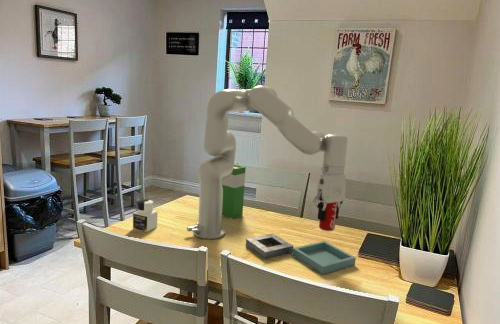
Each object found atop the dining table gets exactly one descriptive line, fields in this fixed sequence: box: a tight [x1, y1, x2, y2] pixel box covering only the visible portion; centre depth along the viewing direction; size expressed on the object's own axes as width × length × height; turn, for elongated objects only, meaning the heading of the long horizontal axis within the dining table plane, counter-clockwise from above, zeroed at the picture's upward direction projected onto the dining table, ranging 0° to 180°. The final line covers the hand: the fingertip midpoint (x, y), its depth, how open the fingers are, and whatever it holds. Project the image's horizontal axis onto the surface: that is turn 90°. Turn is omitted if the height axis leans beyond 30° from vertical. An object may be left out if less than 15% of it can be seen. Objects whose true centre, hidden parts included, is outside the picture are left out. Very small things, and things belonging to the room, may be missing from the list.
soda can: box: [318, 202, 338, 232], centre depth 129 cm, size 6×6×12 cm
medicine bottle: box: [132, 198, 158, 233], centre depth 150 cm, size 7×7×12 cm
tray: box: [291, 240, 357, 276], centre depth 132 cm, size 16×16×3 cm
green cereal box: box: [221, 164, 246, 220], centre depth 174 cm, size 18×7×24 cm, turn 54°
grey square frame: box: [245, 233, 294, 261], centre depth 138 cm, size 13×13×3 cm
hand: (327, 218), depth 129 cm, fingers closed on soda can, 5 cm apart
